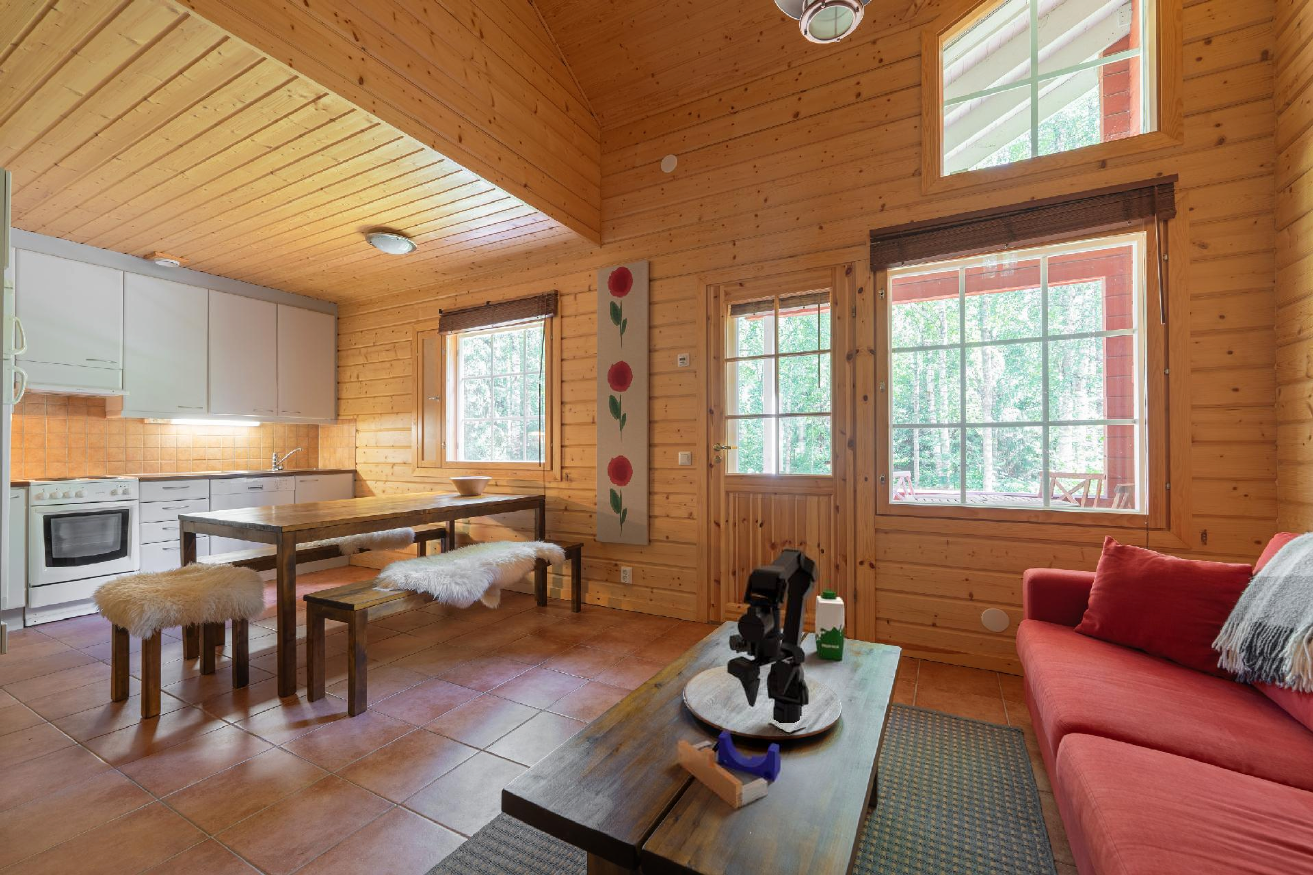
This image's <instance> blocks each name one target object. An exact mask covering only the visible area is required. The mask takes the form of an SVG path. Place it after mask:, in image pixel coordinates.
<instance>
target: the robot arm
mask: <svg viewBox="0 0 1313 875" xmlns="http://www.w3.org/2000/svg"><path fill="white" fill-rule="evenodd" d="M748 576H749V577H748V581H747V585H746V589H745V592H744V598H743V601H742V602H743V604H749V606H747V607H746V612H745V613H744V614H743V615H741V616H740V618H739V619H738V622H737V630H738V634H733V635H729V637H728V638H729V639H728V640H729V641H728V643H729V644H728V645H729V649H730V650H731V651H733V652H734V651H735V653H736V654H740V653H746V655H747V656H749V657H753V658H754V659H750V658H747V657H745V656H743V655H741V656H737V657H734V658H732V659H729V660H728V661H727V662H726V663H727V665H726V669H727V671H726V673H727V674H729V675H731V676H733V677H734V678H736V679H738V680H739V681H740V683H741V686H742V689H743V690H744V693H745V697H746V699H747V702H748V705H749V706H750V707H751V708H754V707H755V705H756V702H757V699H758V698H757V697H758V693H759V688H760V685H761V684H760V683H761V680H762V679H761V678H759V677H760V674H761V668H764V667H767V666H770V670H769V672H768V674H767V677H766V690H767V696H768V697H767V698H768V699H770V700H771V699H772V700H773V701H774V702H773V709H772V719H774V720H776V721H778V722H779V723H795V722H797V721H799V720H800V716H802V717H803V713H802V711H803V708H804V706H805V705H809V702H810V701H809V699H810V697H809V696H810V695H809V691H810V690H809V688H808V685H807V682H806V680H805V672H804V669H803V666H802V663H805V662H806V653H805V651H804V650H803V648H802V647H801V646H802V645H801V644H802V636H803V631H804V630H803V629H804V621H805V620H804V619H805V614H806V613H805V612H806V606H807V599H808V598H809V597H810V596H811V594H813V592H814V590H815V585H816V583H817V582H818V579H819V569H818V567H817V564H816V562H815V561H814V560H812V559H811V558H810V557H808V556H807V555H806V554H805V551H803V550H801V549H798V548H797V549H796V548H795V549H794V548H787V547H786V548H784V549H781V552H780V554H779V555H778V556H777V557H776V558H775V559H774V560H773V561H772V562H771V563H770V564H769V565H760V566H757V567H755V568H754V569H753V570H752V572H750V574H749V575H748ZM785 601H786V605H785V615H784V621H783V627H782V605H783V604H785ZM782 628H783V629H782Z"/></svg>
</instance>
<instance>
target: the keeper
mask: <svg viewBox="0 0 1313 875" xmlns="http://www.w3.org/2000/svg"><path fill="white" fill-rule="evenodd" d="M677 763H678V764H679V766H681V767H682V768H683V769H685V770H686V771H687V772H688V773H689V774H691V776H693V777H695V778H696V779H697V780H699V782H701V783H702V782H703V783H702V784H703V785H705V786H706V787H707V786H708V787H707V788H708V789H710V790H711V791H712V790H713V791H712V792H714V793H715V794H716V795H717V794H718V796H719V797H720V798H721V799H722V800H724V801H725V802H726V801H727V802H726V803H728V804H729V806H731V805H732V806H731V807H732V808H733V809H735V810H737V809H739V808H741V807H743V805H744V806H745V805H748V804H750V803H752V802H754V801H756V799H757V800H759V799H761V798H763V797H765V796H767V795H768V781H767V779H766V780H765V778H762V777H760V778H757V779H755V780H753V781H751V782H749V783H745V784H744V785H743V782H742V781H741V780H740V779H738V778H737V777H736V776H734V775H733V774H731V773H730V772H729V771H727V770H726V769H725V768H723V766H720V765H718V763H717V762H716V752H715V751H714V750H713V744H712V742H711V741H709V740H704V741H702V742H699V743H697V744H690V743H689V742H688V741H687V740H684V739H682V740H679V741H677ZM747 803H748V804H747ZM738 807H739V808H738Z"/></svg>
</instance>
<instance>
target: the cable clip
mask: <svg viewBox="0 0 1313 875" xmlns="http://www.w3.org/2000/svg"><path fill="white" fill-rule="evenodd" d="M717 740H718V745H717V748H718V750H717V751H718V752H717V764H718V765H719V766H720V767H724V768H728V769H731V770H735V771H738V772H741V771H742V772H741V773H745V774H749V775H752V776H755V777H758V778H759V777H760V778H763V779H764V780H765V779H766V780H769V781H773V782H775V781H776V779H777V777H778V776H779V773H780V772H781V762H782V761H781V758H782V757H781V756H780V744H776V743H773V742H771V744H770V746H769V747H768V749H767V753H765V754H763V755H761V756H760V755H759V756H755V755H751V757H750V758H748V757H745V756H744V755H742V754H741V753H740V752H739V750H737V748H736V747H735V745H734V744H733V741H732V737H731V732H730V731H727V730H722V732H721V733H720V734H719V735H718V739H717Z"/></svg>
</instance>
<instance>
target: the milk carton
mask: <svg viewBox="0 0 1313 875" xmlns="http://www.w3.org/2000/svg"><path fill="white" fill-rule="evenodd" d="M814 624H815V626H814V632H815V633H814V638H815V648H816V652H817V656H818V659H820V660H832V661H834V660H835V661H843V657H844V656H843V654H844V647H845V646H844V645H845V604H844V601H843V599H842V598H841V597H839V596H836V591H835V590H832V589H831V590H829V589H828V590H827V589H824V590H822V595H816V600H815V622H814Z"/></svg>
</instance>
